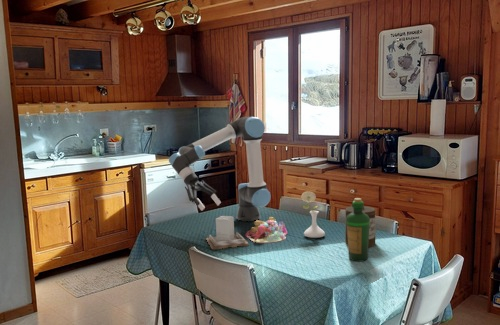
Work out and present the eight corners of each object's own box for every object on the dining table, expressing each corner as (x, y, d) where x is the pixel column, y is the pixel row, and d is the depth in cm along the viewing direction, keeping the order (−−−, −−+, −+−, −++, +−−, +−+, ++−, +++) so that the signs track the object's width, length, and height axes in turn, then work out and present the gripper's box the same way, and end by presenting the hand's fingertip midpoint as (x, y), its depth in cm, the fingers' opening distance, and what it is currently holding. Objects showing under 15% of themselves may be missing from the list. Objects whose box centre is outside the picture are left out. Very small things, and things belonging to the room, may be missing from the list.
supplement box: (235, 239, 249) (234, 216, 248) (228, 243, 243) (227, 219, 241) (222, 238, 252) (221, 215, 251) (216, 242, 246) (215, 218, 244)
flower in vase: (327, 234, 257) (327, 189, 254) (321, 240, 246) (321, 193, 243) (304, 232, 262) (303, 188, 259) (298, 238, 252) (297, 192, 249)
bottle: (343, 255, 221) (343, 197, 218) (365, 254, 222) (365, 195, 219) (350, 263, 211) (349, 201, 207) (373, 261, 211) (373, 200, 208)
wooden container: (358, 250, 229) (358, 205, 226) (339, 242, 242) (339, 200, 239) (381, 244, 235) (381, 201, 233) (361, 238, 249) (361, 197, 246)
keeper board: (239, 236, 259) (239, 230, 259) (248, 245, 242) (248, 239, 241) (205, 240, 254) (205, 234, 254) (212, 249, 237) (211, 243, 236)
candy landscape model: (239, 234, 265) (238, 218, 264) (276, 228, 274) (276, 213, 273) (257, 245, 242) (256, 228, 241) (297, 239, 252) (296, 222, 250)
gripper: (200, 178, 269) (222, 206, 263) (169, 185, 249) (192, 215, 242) (206, 169, 265) (229, 197, 259) (176, 175, 245) (200, 206, 239)
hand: (211, 206), depth 251 cm, fingers open, 13 cm apart
